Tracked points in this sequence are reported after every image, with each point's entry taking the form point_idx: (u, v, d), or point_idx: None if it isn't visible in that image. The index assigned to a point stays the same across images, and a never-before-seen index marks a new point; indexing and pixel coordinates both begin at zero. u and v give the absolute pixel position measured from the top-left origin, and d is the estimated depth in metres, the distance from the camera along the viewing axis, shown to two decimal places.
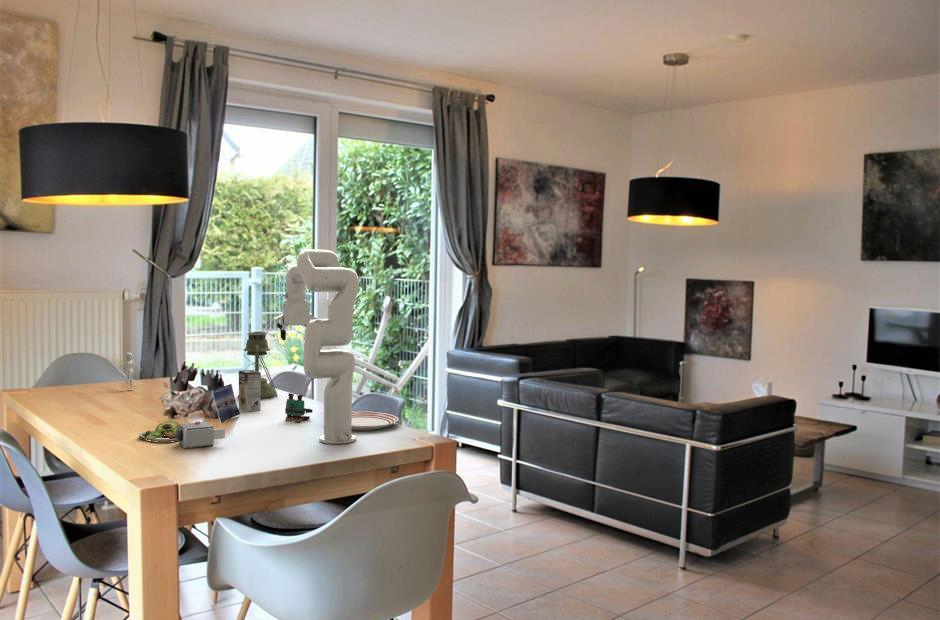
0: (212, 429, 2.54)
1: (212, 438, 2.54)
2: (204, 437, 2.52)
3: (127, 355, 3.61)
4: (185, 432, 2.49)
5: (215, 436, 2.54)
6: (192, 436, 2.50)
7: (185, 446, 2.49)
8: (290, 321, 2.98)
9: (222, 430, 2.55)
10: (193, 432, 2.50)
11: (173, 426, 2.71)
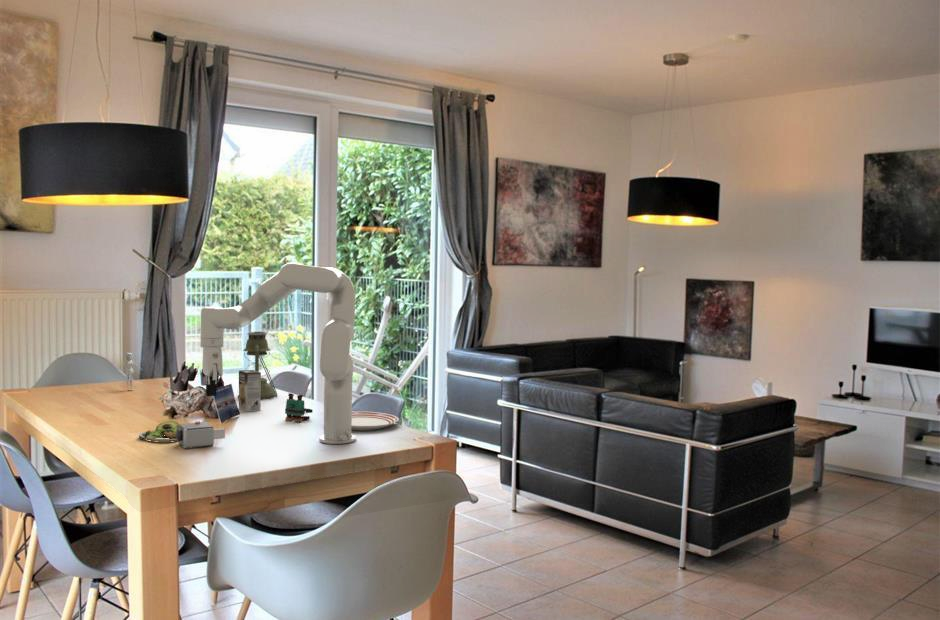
0: (212, 429, 2.54)
1: (212, 438, 2.54)
2: (204, 437, 2.52)
3: (127, 355, 3.61)
4: (185, 432, 2.49)
5: (215, 436, 2.54)
6: (192, 436, 2.50)
7: (185, 446, 2.49)
8: None
9: (222, 430, 2.55)
10: (193, 432, 2.50)
11: (173, 426, 2.71)
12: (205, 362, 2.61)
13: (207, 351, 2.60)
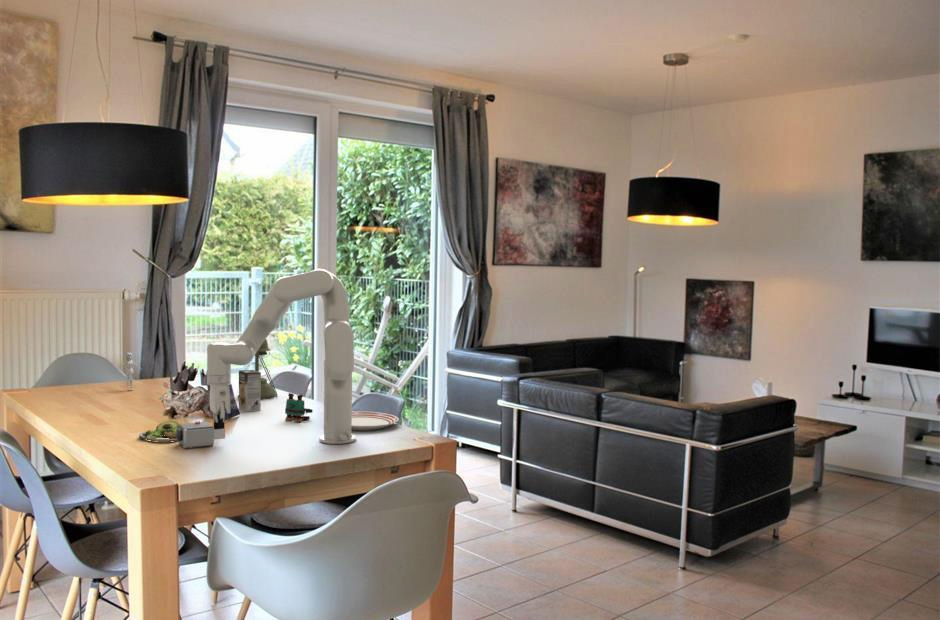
0: (212, 429, 2.53)
1: (212, 438, 2.53)
2: (204, 437, 2.52)
3: (127, 355, 3.61)
4: (185, 432, 2.49)
5: (215, 436, 2.54)
6: (192, 436, 2.50)
7: (185, 446, 2.49)
8: None
9: (222, 430, 2.55)
10: (193, 432, 2.50)
11: (173, 426, 2.71)
12: (212, 400, 2.54)
13: (214, 389, 2.52)
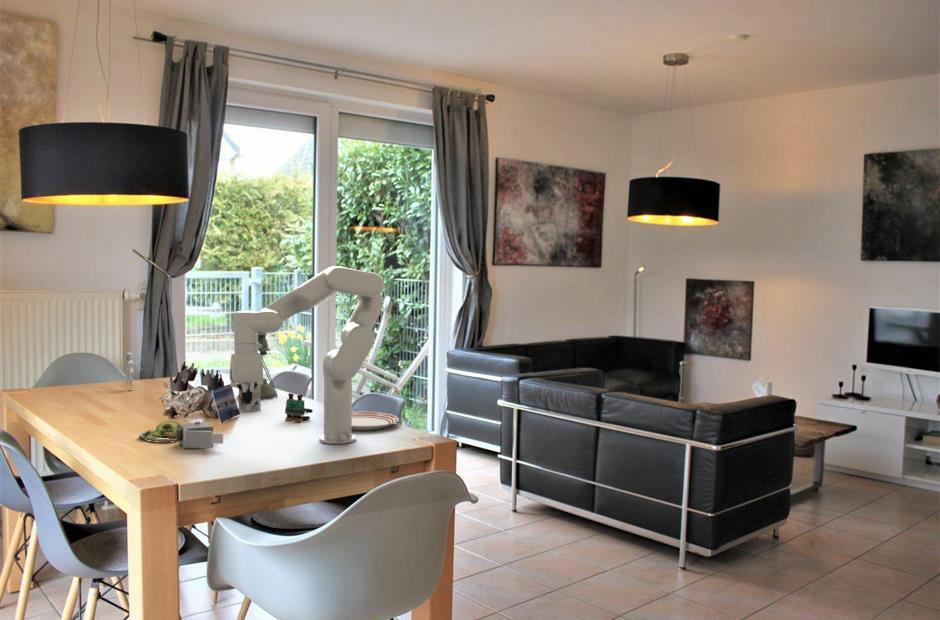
0: (210, 432, 2.48)
1: (210, 442, 2.48)
2: (202, 440, 2.49)
3: (127, 355, 3.61)
4: (184, 432, 2.49)
5: (213, 440, 2.48)
6: (191, 437, 2.49)
7: (184, 446, 2.49)
8: None
9: (219, 435, 2.48)
10: (192, 433, 2.49)
11: (173, 426, 2.71)
12: (253, 368, 2.51)
13: (258, 356, 2.52)
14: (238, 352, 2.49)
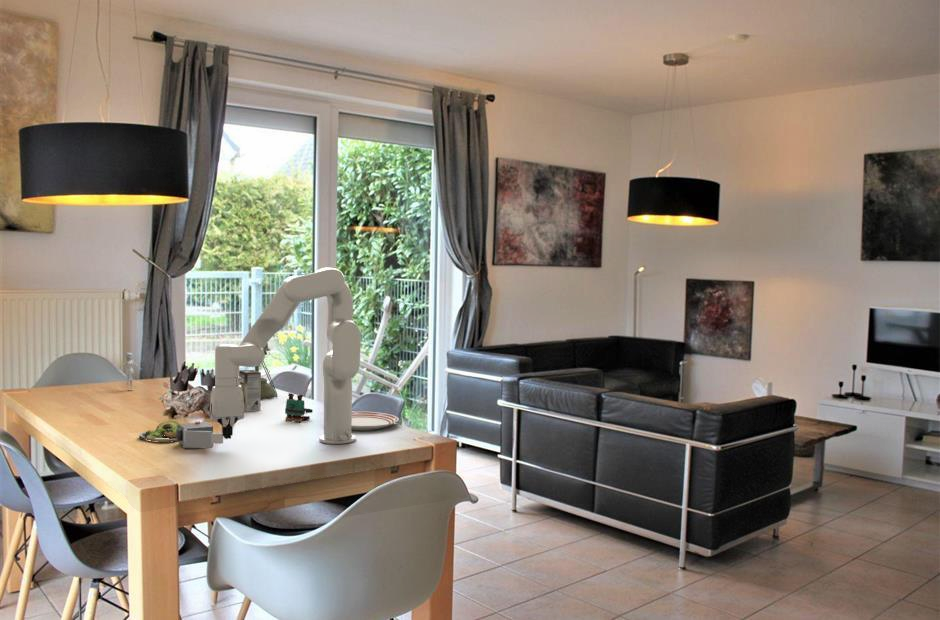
0: (210, 432, 2.48)
1: (210, 442, 2.48)
2: (202, 440, 2.49)
3: (127, 355, 3.61)
4: (184, 432, 2.49)
5: (213, 440, 2.48)
6: (191, 437, 2.49)
7: (184, 446, 2.49)
8: None
9: (219, 435, 2.48)
10: (192, 433, 2.49)
11: (173, 426, 2.71)
12: (234, 403, 2.49)
13: (239, 390, 2.49)
14: (219, 386, 2.46)
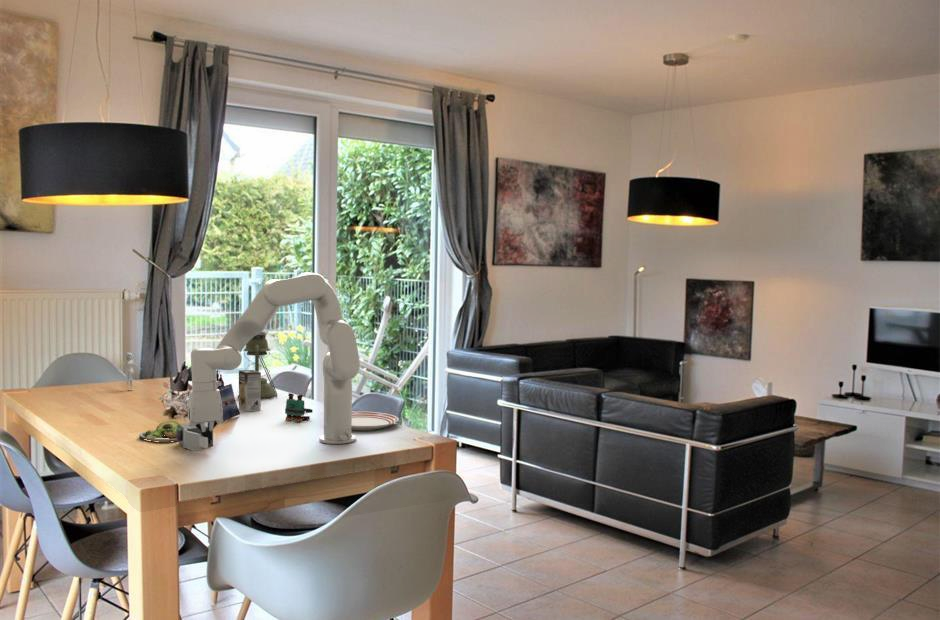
0: (198, 435, 2.44)
1: (198, 445, 2.44)
2: (194, 442, 2.45)
3: (127, 355, 3.61)
4: None
5: (200, 443, 2.43)
6: (187, 438, 2.48)
7: None
8: None
9: (204, 439, 2.42)
10: (188, 434, 2.48)
11: (173, 426, 2.71)
12: (212, 407, 2.45)
13: (216, 394, 2.45)
14: (196, 391, 2.42)
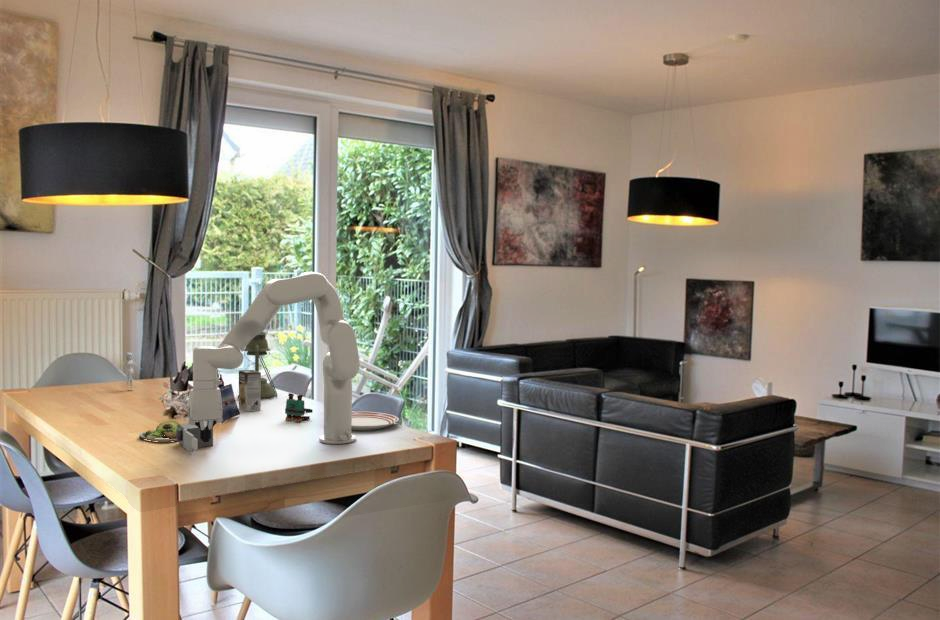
0: (191, 436, 2.42)
1: (191, 446, 2.42)
2: (189, 443, 2.44)
3: (127, 355, 3.61)
4: None
5: (192, 444, 2.41)
6: (185, 438, 2.47)
7: None
8: None
9: (194, 440, 2.40)
10: (186, 434, 2.47)
11: (173, 426, 2.71)
12: (212, 405, 2.45)
13: (217, 393, 2.46)
14: (196, 389, 2.43)
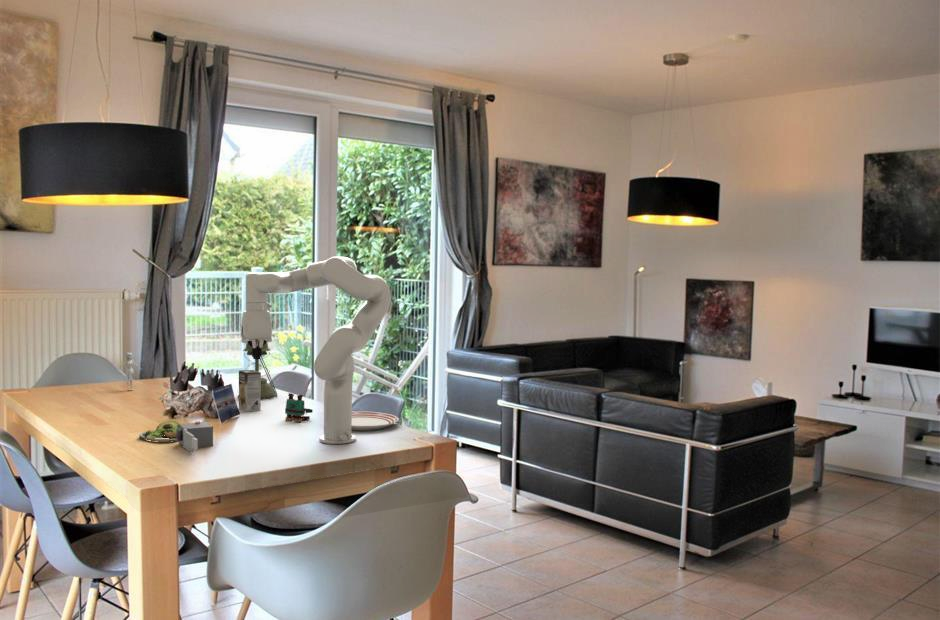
0: (191, 436, 2.42)
1: (191, 446, 2.42)
2: (189, 443, 2.44)
3: (127, 355, 3.61)
4: None
5: (192, 444, 2.41)
6: (185, 438, 2.47)
7: None
8: None
9: (194, 440, 2.40)
10: (186, 434, 2.47)
11: (174, 426, 2.71)
12: (263, 326, 2.70)
13: (267, 315, 2.71)
14: (249, 310, 2.67)
